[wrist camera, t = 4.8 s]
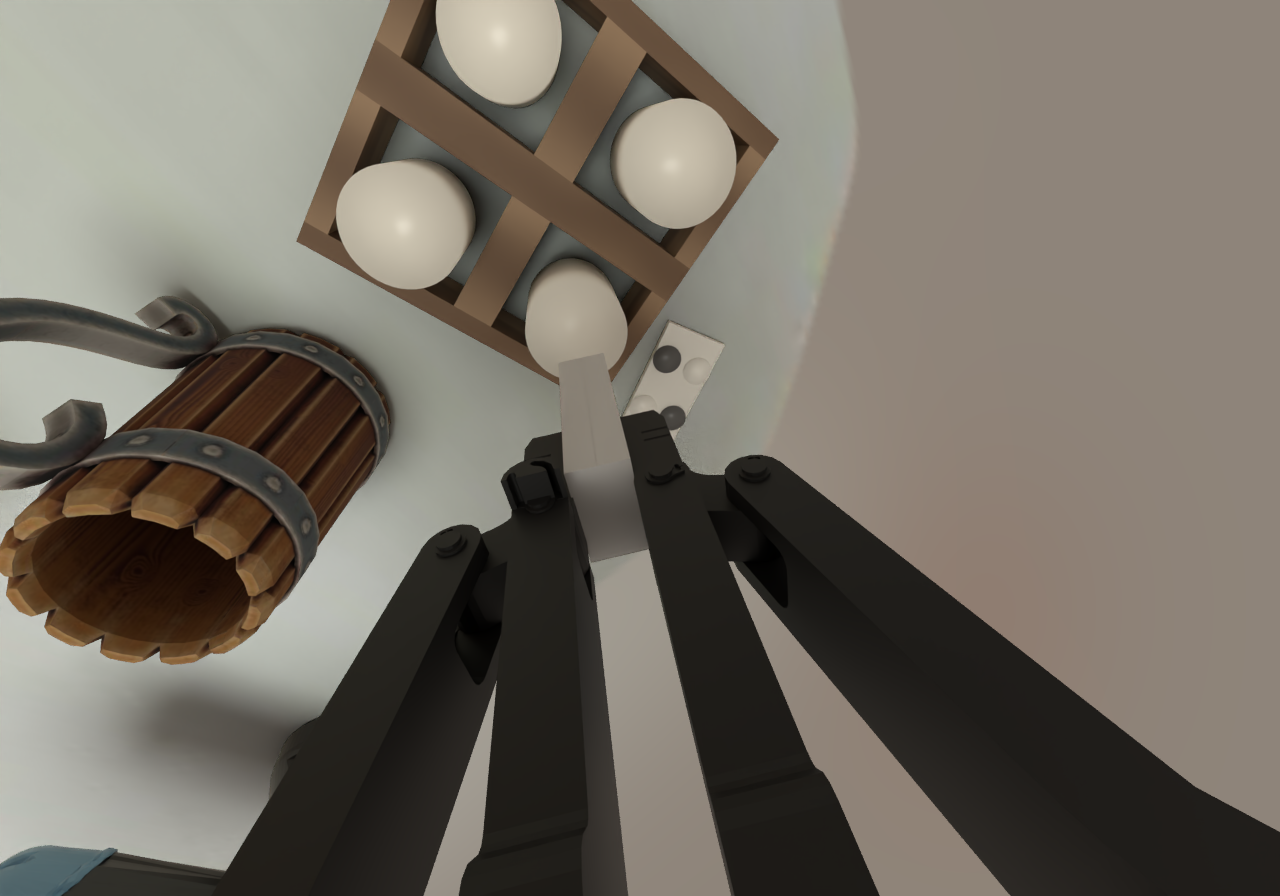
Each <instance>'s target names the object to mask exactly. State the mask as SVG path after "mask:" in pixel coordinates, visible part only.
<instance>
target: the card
mask: <svg viewBox="0 0 1280 896" xmlns="http://www.w3.org/2000/svg"><path fill="white" fill-rule="evenodd" d="M724 346H725V345H724V344H723V343H721V342H719V341H717V340H714V339H712V338H709V337H707V336H705V335H702V334H700V333H698V332H695V331H693V330H691V329H688V328H686V327H684V326H681V325H679V324H677V323H674V322H672V321H670V320H668V322H667V324H666V326H665V328H664V330H663V332H662V334H661V336H660V338H659V340H658V342H657V345H656V347H655V349H654V351H653V353H652V355H651V357H650V359H649V361H648V363H647V365H646V367H645V369H644V372H643V374H642V376H641V378H640V380H639V382H638V384H637V386H636V388H635V390H634V392H633V394H632V396H631V399H630V401H629V403H628V405H627V407H626V409H625V411H624V413H623V415H622V417H624V416H628V415H632V414H637V413H641V412H645V411H650V410H654V411H656V412H658V413H659V414H661V415H662V416H664V418H665V421H666V423H667V426H668V428H669V431H670V433H671V436H672V438H673V441H674V439H675V437H676V435H677V433H678V431H679V430H680V428H681V426H682V425H683V424H684V422H685V419H686V417H687V415H688V413H689V411H690V409H691V407H692V406H693V404H694V402H695V400H696V398H697V396H698V395H699V393H700V391H701V389H702V387H703V385H704V383H705V382H706V380H707V379H708V378H709V376H710V374H711V370H712V369H713V367H714V365H715V363H716V361H717V359H718V358H719V356H720V354H721V352H722V350H723V348H724Z"/></svg>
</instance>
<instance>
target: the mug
mask: <svg viewBox="0 0 1280 896" xmlns="http://www.w3.org/2000/svg"><path fill="white" fill-rule="evenodd" d="M135 315H137V316H138V317H139V318H140V319H141V320H142V321H143V322H144V323H145V324H146V325H147V326H149V327H150V328H151V329H149V328H146V327H143V326H140V325H137V324H135V323H132V322H129V321H126V320H123V319H120V318H117V317H113V316H110V315H107V314H104V313H100V312H97V311H93V310H90V309H86V308H82V307H78V306H73V305H69V304H65V303H59V302H53V301H47V300H39V299H27V298H0V342H3V341H34V342H43V343H51V344H57V345H63V346H69V347H73V348H78V349H83V350H87V351H91V352H95V353H99V354H102V355H106V356H110V357H113V358H117V359H120V360H124V361H128V362H131V363H135V364H139V365H143V366H148V367H153V368H160V369H179V368H183V367H185V368H184V369H183V370H182V371H181V372H180V373H179V374H178V375H177V377H176V379H175V381H174V382H173V383H172V384H171V385H170V386H169V387H168V388H166V389H165V390H164V391H163V392H162V393H160V394H159V395H158V396H157V397H156V398H155V399H153V400H152V401H151V402H150V403H149V404H148V405H146V406H145V407H144V408H143V409H142V410H140V411H139V412H138V413H137V414H136V415H135V416H133V417H132V418H131V419H130V420H129V421H128V422H126V423H125V424H124V425H123V426H122V427H121V428H119V429H118V430H117V431H116V432H115V433H113V434H112V435H111V436H110V437H108V438H106V439H104V438H105V436H106V429H107V421H106V416H105V412H104V409H103V406H102V403H95V402H88V401H80V400H73V399H70V400H69V401H67V402H66V403H64V404H63V405H61V406H60V407H58V408H57V409H56V410H54V411H53V412H51V413H50V414H48V415H47V416H45V417H44V418H42V420H43V423H44V426H45V430H46V440H45V442H42V443H37V444H21V443H15V442H8V441H4V440H0V490H12V489H23V488H27V487H31V486H35V485H39V484H42V483H44V482H46V481H48V480H50V479H52V480H51V481H50V482H49V483H48V484H47V485H46V486H45V487H44V488H42V489H41V491H40V494H39V496H38V498H37V499H36V500H35V501H34V502H32V503H31V504H30V505H29V506H28V507H27V508H26V509H25V510H24V511H23V512H22V513H21V514H20V515H19V516H18V517H17V518H16V519H15V522H14V526H13V527H11V528H10V529H9V530H8V531H7V532H6V534H5V537H4V539H3V541H2V543H1V546H0V572H1V573H2V574H3V575H4V576H8V577H9V579H8V585H7V592H6V596H7V597H8V599H9V600H10V601H11V603H12V604H13V605H14V606H15V607H16V608H17V609H18V611H19V612H22V613H24V614H26V615H29V616H35V615H39V614H41V613H44V612H47V611H49V612H48V616H47V619H46V623H45V629H46V631H47V632H48V634H50V635H51V636H53V637H55V638H57V639H59V640H61V641H63V642H65V643H67V644H69V645H73V646H81V647H83V646H85V645H87V644H90V643H92V642H94V641H96V640H99V639H101V638H102V640H101V651H100V653H102V654H103V655H105V656H106V657H108V658H110V659H115V660H120V661H125V662H132V663H135V662H140V661H144V660H146V659H147V658H149V657H151V656H152V655H154V654H156V653H157V652H159V651H160V660H161V662H164V663H167V664H171V665H173V664H185V663H192V662H195V661H197V660H199V659H201V658H203V657H205V656H206V655H208V654H210V653H213V654H219V653H226V652H228V651H230V650H232V649H233V648H235V647H236V646H238V645H240V644H241V643H243V642H244V641H245V640H247V639H248V638H249V637H250V636H252V635H253V634H254V633H255V632H256V631H257V630H258V629H259V627H260V626H261V624H263V623H265V622H266V620H267V619H268V617H269V616H270V615H271V613H272V612H273V610H274V609H275V608H276V607H277V606H278V605H280V604H281V603H282V602H283V601H285V600H286V599H287V598H288V596H289V595H290V593H291V592H292V590H293V589H294V587H295V586H296V584H297V583H298V582H299V580H300V579H301V577H302V576H303V574H304V573H305V571H306V570H307V568H308V567H309V565H310V563H311V562H312V560H313V559H314V557H315V556H316V552H317V547H318V546H319V544H320V543H321V541H322V540H323V538H324V537H325V535H326V534H327V533H328V531H329V530H330V528H331V527H332V525H333V524H334V522H335V521H336V520H337V518H338V517H339V515H340V514H341V512H342V511H343V510H344V508H345V507H346V505H347V504H348V502H349V501H350V499H351V498H352V497H353V495H354V494H355V492H356V491H357V490H358V489H359V488H361V487H362V486H363V485H364V484H365V483H366V482H367V480H368V479H369V477H370V476H371V474H372V473H373V471H374V470H375V468H376V467H377V465H378V464H379V462H380V461H381V459H382V457H383V456H384V454H385V451H386V447H387V443H388V439H389V435H390V434H389V427H388V426H389V424H390V423H391V422H390V415H389V408H388V406H387V403H386V400H385V397H384V395H383V394H382V393H381V392H380V391H379V390H378V389H377V388H376V384H377V382H376V381H375V380H374V379H373V377H372V376H371V375H370V374H369V372H368V371H367V370H366V369H365V368H364V367H363V366H362V365H361V364H360V363H359V362H358V361H356V360H355V359H354V358H353V357H349V356H346V355H344V353H343V352H342V351H341V349H340V348H338V347H336V346H335V345H333V344H331V343H329V342H327V341H325V340H323V339H320V338H317V337H314V336H311V335H308V334H306V333H303V334H302V335H300V336H299V335H297V334H295V333H293V332H291V331H289V330H286V329H259V330H250V331H249V332H248V333H244V334H238V335H232V336H230V337H228V338H226V339H224V340H221V341H219V342H217V340H218V337H217V334H216V330H215V328H214V327H213V325H212V324H211V322H210V321H209V319H208V318H207V317H206V316H205V315H204V314H203V313H202V312H201V311H200V310H199V309H197V308H196V307H194V306H192V305H191V304H189V303H188V302H186V301H184V300H181V299H179V298H176V297H173V296H162V297H159V298H157V299H155V300H154V301H153V302H151V303H150V304H148V305H147V306H145V307H144V308H142V309H141V310H140V311H138V312H137V313H135ZM160 328H161V329H164V330H166V331H168V332H169V333H170V334H171V335H169V334H165V333H162V332H159V331H155V330H156V329H160Z"/></svg>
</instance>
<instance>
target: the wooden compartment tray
mask: <svg viewBox="0 0 1280 896" xmlns="http://www.w3.org/2000/svg"><path fill="white" fill-rule="evenodd" d="M562 1H563V2H565V3H566V4H567V5H568V6H569V7H570V8H571V9H573V10H574V11H575V12H576V13H577V14H578V15H579V16H580V17H582V18H583V19H584V20H585V21H586V22H587V23H588V24H590V25H591V26H592V27H593V28H594V29H595V30H596V31H597V32H599V33H598V35H597V37H596V39H595V40H594V42H593V44H592V46H591V48H590V50H589V52H588V54H587V56H586V57H585V59H584V61H583V63H582V65H581V67H580V69H579V71H578V73H577V74H576V76H575V78H574V80H573V82H572V84H571V86H570V88H569V90H568V91H567V93H566V95H565V97H564V99H563V101H562V103H561V105H560V106H559V108H558V110H557V112H556V114H555V116H554V118H553V120H552V122H551V123H550V125H549V127H548V129H547V131H546V133H545V135H544V137H543V139H542V140H541V142H540V144H539V146H538V148H537V150H536V152H534V151H533V150H531V149H530V148H529V147H527V146H526V145H525V144H523V143H522V142H520V141H519V140H518V139H516V138H515V137H514V136H512V135H511V134H510V133H508V132H507V131H505V130H504V129H503V128H501V127H500V126H499V125H497V124H496V123H495V122H493V121H492V120H491V119H489V118H488V117H486V116H485V115H484V114H482V113H481V112H480V111H478V110H477V109H476V108H474V107H473V106H471V105H470V104H469V103H467V102H466V101H465V100H463V99H462V98H461V97H459V96H458V95H456V94H455V93H454V92H452V91H451V90H450V89H448V88H447V87H446V86H444V85H443V84H441V83H440V82H439V81H437V80H436V79H435V78H433V77H432V76H431V75H429V74H428V73H426V72H425V71H424V70H422V69H421V66H422V63H423V61H424V59H425V56H426V54H427V52H428V49H429V47H430V45H431V42H432V40H433V38H434V35H435V33H436V31H437V25H436V3H437V0H390V3H389V5H388V8H387V11H386V13H385V16H384V18H383V21H382V23H381V26H380V28H379V31H378V34H377V36H376V39H375V41H374V44H373V46H372V49H371V51H370V54H369V57H368V59H367V62H366V64H365V67H364V69H363V72H362V75H361V77H360V80H359V82H358V85H357V87H356V90H355V92H354V95H353V98H352V100H351V103H350V105H349V108H348V110H347V113H346V116H345V118H344V121H343V123H342V126H341V128H340V131H339V133H338V136H337V139H336V141H335V144H334V146H333V149H332V151H331V154H330V156H329V159H328V162H327V164H326V167H325V169H324V172H323V174H322V177H321V180H320V182H319V185H318V187H317V190H316V192H315V195H314V197H313V200H312V203H311V205H310V208H309V210H308V213H307V215H306V218H305V220H304V223H303V226H302V228H301V231H300V233H299V236H298V238H297V242H299V243H301V244H302V245H304V246H306V247H308V248H310V249H312V250H313V251H315V252H317V253H319V254H321V255H322V256H324V257H326V258H328V259H330V260H332V261H333V262H335V263H337V264H339V265H341V266H343V267H344V268H346V269H348V270H350V271H352V272H353V273H355V274H357V275H359V276H361V277H363V278H364V279H366V280H368V281H370V282H372V283H374V284H375V285H377V286H379V287H381V288H383V289H385V290H386V291H388V292H390V293H392V294H394V295H395V296H397V297H399V298H401V299H403V300H405V301H406V302H408V303H410V304H412V305H414V306H416V307H417V308H419V309H421V310H423V311H425V312H427V313H428V314H430V315H432V316H434V317H436V318H437V319H439V320H441V321H443V322H445V323H447V324H448V325H450V326H452V327H454V328H456V329H458V330H459V331H461V332H463V333H465V334H467V335H469V336H470V337H472V338H474V339H476V340H478V341H479V342H481V343H483V344H485V345H487V346H489V347H490V348H492V349H494V350H496V351H498V352H500V353H501V354H503V355H505V356H507V357H509V358H510V359H512V360H514V361H516V362H518V363H520V364H521V365H523V366H525V367H527V368H529V369H531V370H532V371H534V372H536V373H538V374H540V375H542V376H543V377H545V378H547V379H549V380H551V381H552V382H554V383H556V384H558V385H560V383H559V377H556V376H554V375H552V374H550V373H549V372H547V371H546V370H544V369H543V368H542V367H541V366H540V365H539V364H538V363H537V362H536V361H535V359H534V358H533V356H532V355H531V353H530V351H529V348H528V346H527V342H526V336H525V324H526V322H524V321H523V320H521V319H519V318H517V317H516V316H514V315H512V314H511V313H509V312H507V311H506V310H504V309H502V306H503V305H504V303H505V301H506V299H507V297H508V296H509V294H510V292H511V290H512V289H513V287H514V285H515V283H516V282H517V280H518V278H519V276H520V275H521V273H522V271H523V269H524V268H525V266H526V264H527V262H528V261H529V259H530V257H531V255H532V253H533V252H534V250H535V248H536V246H537V245H538V243H539V241H540V239H541V238H542V236H543V234H544V232H545V231H546V229H547V227H548V225H549V224H550V222H551V223H553V224H554V225H556V226H557V227H559V228H560V229H561V230H563V231H564V232H566V233H567V234H569V235H570V236H572V237H573V238H575V239H576V240H578V241H579V242H580V243H582V244H583V245H585V246H586V247H588V248H589V249H591V250H592V251H594V252H595V253H597V254H598V255H599V256H601V257H602V258H604V259H605V260H607V261H608V262H610V263H611V264H613V265H614V266H616V267H617V268H618V269H620V270H621V271H623V272H624V273H626V274H627V275H629V276H630V277H632V278H633V279H635V280H636V281H635V282H634V284H633V286H632V287H631V289H630V290H629V292H628V293H627V295H626V296H625V298H624V299H623V301H622V302H621V304H620V305H621V308H622V310H623V312H624V315H625V318H626V322H627V329H628V333H627V342H626V345H625V348H624V351H623V353H622V355H621V357H620V358H619V360H618V361H617V362H616V363H615V365H614V366H612V367H611V368H610V369H609V370H608V372H609V376H610V380H611V382H612V381H613V379H614V378H615V376H616V375H617V373H618V372H619V370H620V369H621V368H622V366H623V365H624V363H625V362H626V360H627V359H628V357H629V356H630V355H631V353H632V352H633V350H634V349H635V347H636V346H637V344H638V343H639V342H640V340H641V339H642V337H643V336H644V334H645V333H646V331H647V330H648V328H649V327H650V326H651V324H652V323H653V321H654V320H655V318H656V317H657V315H658V314H659V313H660V311H661V310H662V308H663V307H664V305H665V304H666V302H667V301H668V300H669V298H670V297H671V295H672V294H673V292H674V291H675V289H676V288H677V287H678V285H679V284H680V282H681V281H682V279H683V278H684V276H685V275H686V274H687V272H688V271H689V269H690V268H691V266H692V265H693V263H694V262H695V261H696V259H697V258H698V256H699V255H700V253H701V252H702V250H703V249H704V247H705V246H706V245H707V243H708V242H709V240H710V239H711V237H712V236H713V234H714V233H715V232H716V230H717V229H718V227H719V226H720V224H721V223H722V221H723V220H724V219H725V217H726V216H727V214H728V213H729V211H730V210H731V208H732V207H733V206H734V204H735V203H736V201H737V200H738V198H739V197H740V195H741V194H742V193H743V191H744V190H745V188H746V187H747V185H748V184H749V182H750V181H751V180H752V178H753V177H754V175H755V174H756V172H757V171H758V169H759V168H760V167H761V165H762V164H763V162H764V161H765V159H766V158H767V156H768V155H769V153H770V152H771V151H772V149H773V148H774V146H775V145H776V143H777V142H778V140H779V139H778V138H777V137H776V136H775V135H774V134H773V133H772V132H771V131H770V130H768V129H767V128H766V127H765V126H764V125H763V124H762V123H761V122H760V121H759V120H758V119H757V118H756V117H755V116H754V115H752V114H751V113H750V112H749V111H748V110H747V109H746V108H745V107H744V106H743V105H742V104H741V103H740V102H739V101H738V100H737V99H735V98H734V97H733V96H732V95H731V94H730V93H729V92H728V91H727V90H726V89H725V88H724V87H723V86H722V85H721V84H719V83H718V82H717V81H716V80H715V79H714V78H713V77H712V76H711V75H710V74H709V73H708V72H707V71H706V70H705V69H704V68H702V67H701V66H700V65H699V64H698V63H697V62H696V61H695V60H694V59H693V58H692V57H691V56H690V55H689V54H688V53H686V52H685V51H684V50H683V49H682V48H681V47H680V46H679V45H678V44H677V43H676V42H675V41H674V40H673V39H672V38H671V37H669V36H668V35H667V34H666V33H665V32H664V31H663V30H662V29H661V28H660V27H659V26H658V25H657V24H656V23H655V22H653V21H652V20H651V19H650V18H649V17H648V16H647V15H646V14H645V13H644V12H643V11H642V10H641V9H640V8H639V7H638V6H636V5H635V4H634V3H633V2H632V1H631V0H562ZM638 68H639V69H640V70H642V71H643V72H644V73H645V74H646V75H647V76H648V77H650V78H651V79H652V80H653V81H654V82H655V83H656V84H657V85H659V86H660V87H661V88H662V89H663V90H664V91H665V92H667V93H668V94H669V95H670V96H671V97H672V98H673V99H679V98H687V99H693V100H697V101H700V102H702V103H704V104H706V105H708V106H710V107H711V108H712V109H714V110H715V111H716V112H717V113H718V114H719V115H720V116H721V117H722V119H723V120H724V121H725V123H726V124H727V126H728V128H729V130H730V132H731V135H732V137H733V140H734V144H735V150H736V172H735V177H734V181H733V184H732V187H731V190H730V192H729V194H728V196H727V198H726V199H725V201H724V203H723V204H722V205H721V207H720V208H719V209H718V210H717V211H716V212H715V213H714V214H713V215H712V216H711V217H709V218H708V219H707V220H705V221H703V222H702V223H700V224H697V225H695V226H692V227H689V228H682V229H672V228H670V229H669V231H668V232H667V234H666V235H665V237H664V238H663V240H662V241H661V243H660V244H659V243H658V242H657V241H655V240H654V239H653V238H651V237H650V236H649V235H647V234H646V233H644V232H643V231H642V230H640V229H639V228H638V227H636V226H635V225H634V224H632V223H631V222H629V221H628V220H627V219H625V218H624V217H623V216H621V215H620V214H619V213H617V212H616V211H614V210H613V209H612V208H610V207H609V206H608V205H606V204H605V203H604V202H602V201H601V200H599V199H598V198H597V197H595V196H594V195H593V194H591V193H590V192H589V191H587V190H586V189H584V188H583V187H582V186H580V185H579V184H578V183H576V182H575V181H574V179H575V178H576V176H577V174H578V172H579V171H580V169H581V167H582V165H583V164H584V162H585V160H586V158H587V157H588V155H589V153H590V151H591V150H592V148H593V146H594V144H595V143H596V141H597V139H598V137H599V135H600V134H601V132H602V130H603V128H604V127H605V125H606V123H607V121H608V120H609V118H610V116H611V114H612V113H613V111H614V109H615V107H616V106H617V104H618V102H619V100H620V98H621V97H622V95H623V93H624V91H625V90H626V88H627V86H628V84H629V83H630V81H631V79H632V77H633V76H634V74H635V72H636V70H637V69H638ZM399 119H401V120H402V121H404V122H405V123H406V124H408V125H409V126H411V127H412V128H414V129H415V130H417V131H418V132H420V133H421V134H423V135H424V136H425V137H427V138H428V139H430V140H431V141H433V142H434V143H436V144H437V145H439V146H440V147H442V148H443V149H444V150H446V151H447V152H449V153H450V154H452V155H453V156H455V157H456V158H458V159H459V160H461V161H462V162H463V163H465V164H466V165H468V166H469V167H471V168H472V169H474V170H475V171H477V172H478V173H480V174H481V175H482V176H484V177H485V178H487V179H488V180H490V181H491V182H493V183H494V184H496V185H497V186H499V187H500V188H501V189H503V190H504V191H506V192H507V193H509V194H510V195H512V197H511V199H510V201H509V203H508V205H507V206H506V208H505V210H504V212H503V214H502V216H501V218H500V220H499V222H498V223H497V225H496V227H495V229H494V231H493V233H492V235H491V237H490V238H489V240H488V242H487V244H486V246H485V248H484V250H483V252H482V254H481V255H480V257H479V259H478V261H477V263H476V265H475V267H474V269H473V271H472V272H471V274H470V276H469V278H468V280H467V282H466V284H465V286H463V285H461V284H459V283H458V282H456V281H454V280H453V279H451V278H449V277H447V276H446V277H445V278H444V279H443V280H441V281H440V282H438V283H436V284H434V285H432V286H429V287H426V288H422V289H400V288H396V287H392V286H389V285H386V284H384V283H382V282H380V281H378V280H376V279H374V278H373V277H371V276H370V275H368V274H367V273H366V272H365V271H363V270H362V269H361V268H360V267H359V266H358V265H357V264H356V263H355V261H354V260H353V259H352V258H351V256H350V255H349V253H348V252H347V250H346V249H345V247H344V245H343V243H342V240H341V238H340V235H339V231H338V227H337V221H336V208H337V201H338V198H339V195H340V192H341V191H342V189H343V187H344V185H345V184H346V182H347V181H348V180H349V179H350V178H351V177H352V176H353V175H354V174H356V173H357V172H358V171H360V170H362V169H364V168H366V167H369V166H372V165H376V164H380V162H381V159H382V157H383V155H384V152H385V150H386V148H387V145H388V143H389V141H390V138H391V136H392V134H393V131H394V129H395V127H396V124H397V122H398V120H399Z"/></svg>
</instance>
